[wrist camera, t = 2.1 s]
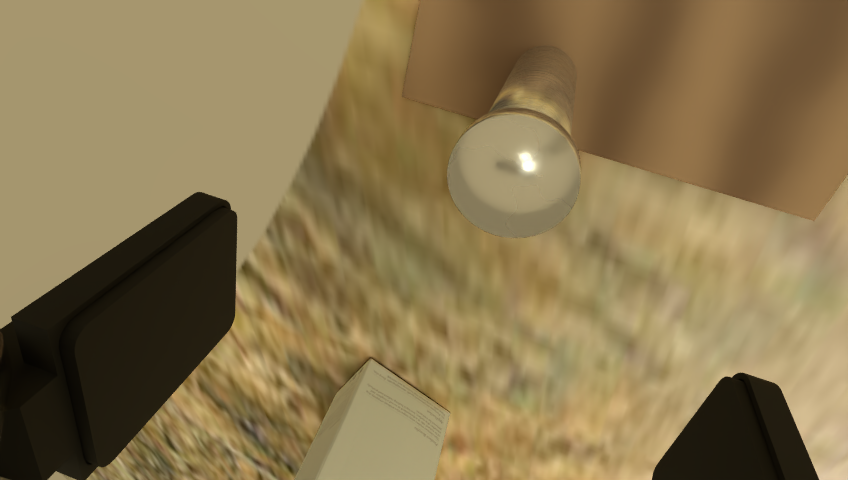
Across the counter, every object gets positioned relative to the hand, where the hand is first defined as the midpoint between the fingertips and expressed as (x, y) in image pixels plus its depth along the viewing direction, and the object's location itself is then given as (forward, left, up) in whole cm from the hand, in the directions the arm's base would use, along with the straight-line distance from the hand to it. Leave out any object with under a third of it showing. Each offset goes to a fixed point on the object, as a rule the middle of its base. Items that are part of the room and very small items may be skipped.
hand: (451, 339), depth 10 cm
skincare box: (+3, +28, -22) cm, 35 cm away
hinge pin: (0, 0, -20) cm, 20 cm away
